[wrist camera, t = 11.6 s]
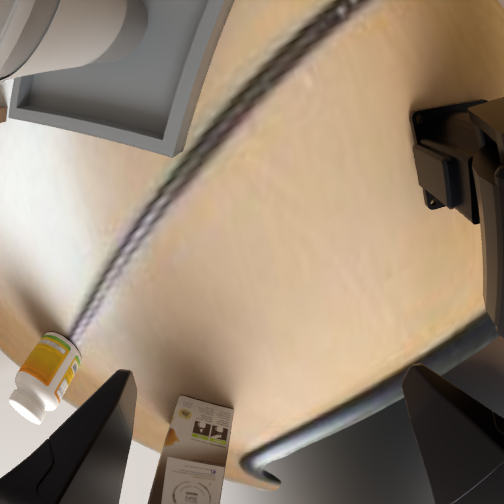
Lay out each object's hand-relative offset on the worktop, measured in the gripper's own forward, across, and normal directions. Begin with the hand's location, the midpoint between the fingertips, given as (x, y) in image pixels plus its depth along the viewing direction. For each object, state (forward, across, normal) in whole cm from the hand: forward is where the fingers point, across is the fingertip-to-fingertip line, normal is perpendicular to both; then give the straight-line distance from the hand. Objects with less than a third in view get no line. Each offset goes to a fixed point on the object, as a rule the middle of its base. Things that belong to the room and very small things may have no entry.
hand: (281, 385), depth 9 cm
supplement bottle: (+17, +20, +16) cm, 31 cm away
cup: (+12, +9, -13) cm, 20 cm away
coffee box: (+16, +4, +24) cm, 29 cm away
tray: (+13, +10, -13) cm, 21 cm away
